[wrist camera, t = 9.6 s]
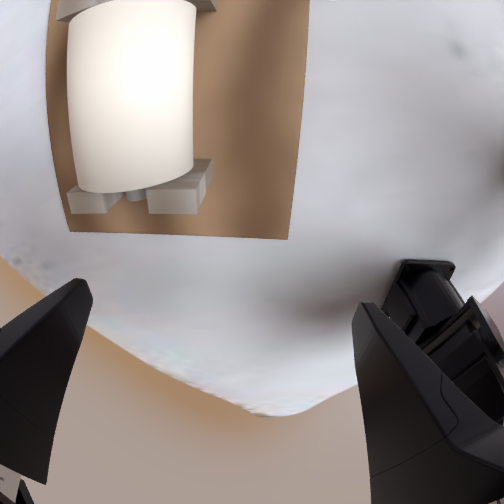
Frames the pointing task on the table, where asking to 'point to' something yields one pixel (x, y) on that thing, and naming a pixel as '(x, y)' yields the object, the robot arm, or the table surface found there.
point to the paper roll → (131, 94)
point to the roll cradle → (206, 127)
